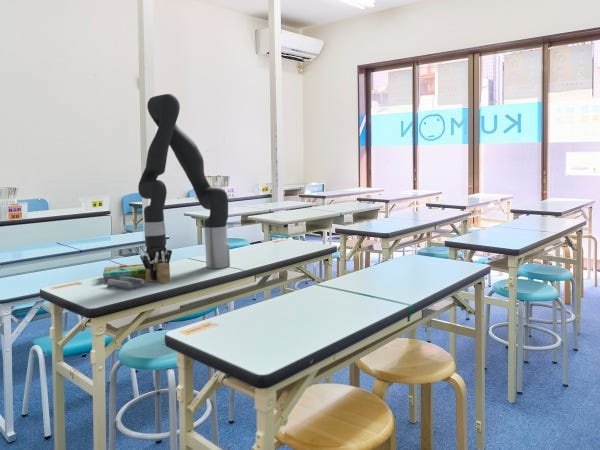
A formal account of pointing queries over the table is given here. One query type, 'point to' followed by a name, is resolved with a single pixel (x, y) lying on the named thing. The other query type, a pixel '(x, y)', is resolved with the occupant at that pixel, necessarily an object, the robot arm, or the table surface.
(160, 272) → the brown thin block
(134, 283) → the sill track
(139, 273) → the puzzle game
